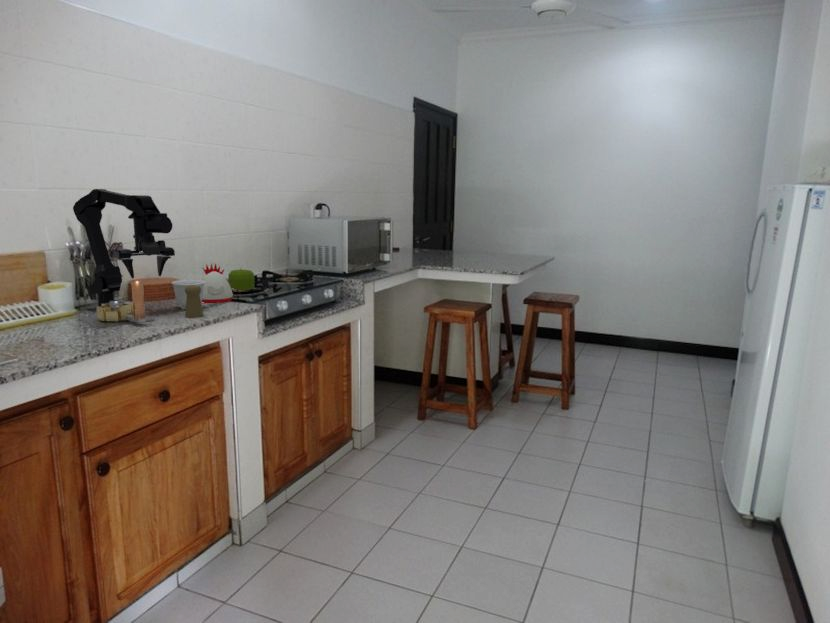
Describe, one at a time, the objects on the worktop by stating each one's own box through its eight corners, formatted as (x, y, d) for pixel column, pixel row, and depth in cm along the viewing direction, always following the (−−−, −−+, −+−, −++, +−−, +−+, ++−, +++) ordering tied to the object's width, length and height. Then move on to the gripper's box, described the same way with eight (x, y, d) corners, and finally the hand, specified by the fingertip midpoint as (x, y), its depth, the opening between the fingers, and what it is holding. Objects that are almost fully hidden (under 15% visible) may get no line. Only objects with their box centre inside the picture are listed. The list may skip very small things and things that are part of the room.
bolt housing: (78, 319, 192) (77, 300, 191) (134, 312, 205) (133, 294, 203) (97, 328, 180) (95, 308, 178) (155, 320, 192) (154, 301, 191)
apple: (240, 295, 243) (239, 270, 241) (223, 293, 249) (222, 268, 247) (260, 292, 253) (259, 267, 250) (243, 289, 258) (242, 265, 256)
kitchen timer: (196, 298, 235) (194, 262, 232) (231, 296, 240) (229, 261, 238) (197, 304, 223) (195, 266, 220) (234, 302, 228) (233, 265, 225)
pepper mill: (205, 314, 204) (204, 283, 202) (200, 318, 198) (198, 286, 196) (188, 314, 204) (186, 283, 202) (182, 317, 198) (180, 286, 196)
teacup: (182, 314, 204) (180, 286, 202) (167, 307, 215) (166, 281, 213) (215, 310, 212) (214, 283, 210) (199, 304, 223) (198, 278, 221)
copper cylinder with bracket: (91, 318, 190) (87, 277, 188) (123, 313, 200) (120, 274, 197) (126, 326, 180) (123, 283, 177) (158, 320, 189) (156, 279, 186)
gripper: (123, 234, 186) (127, 282, 189) (180, 233, 199) (182, 277, 202) (111, 232, 193) (114, 278, 196) (166, 231, 207) (169, 274, 210)
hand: (146, 277), depth 201 cm, fingers open, 9 cm apart
